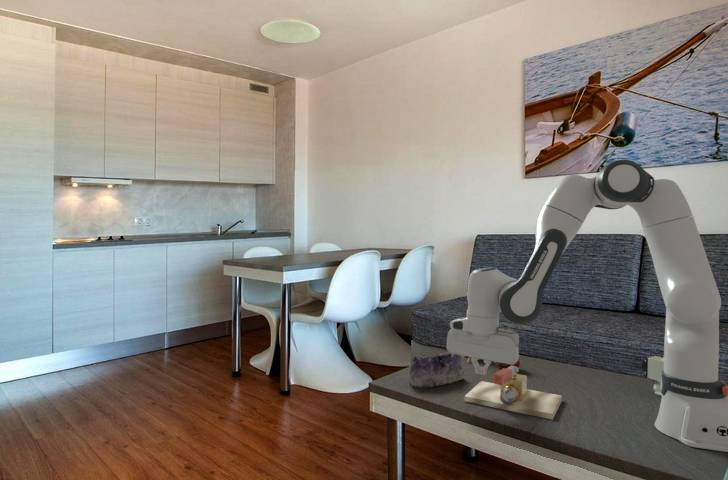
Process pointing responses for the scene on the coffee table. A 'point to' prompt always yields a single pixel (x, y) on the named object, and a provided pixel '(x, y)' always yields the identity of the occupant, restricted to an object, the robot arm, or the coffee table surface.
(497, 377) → the valve lever
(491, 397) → the base board
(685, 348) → the robot arm
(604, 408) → the coffee table surface
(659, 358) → the pneumatic valve
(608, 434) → the coffee table surface
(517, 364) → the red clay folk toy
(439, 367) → the geode
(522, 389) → the valve body
